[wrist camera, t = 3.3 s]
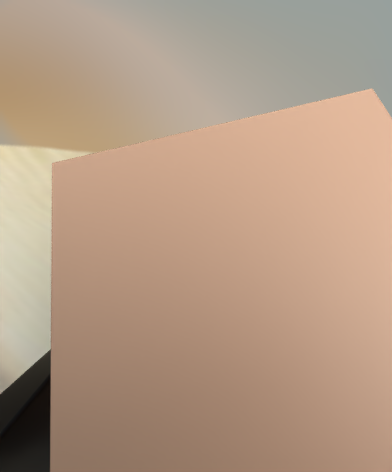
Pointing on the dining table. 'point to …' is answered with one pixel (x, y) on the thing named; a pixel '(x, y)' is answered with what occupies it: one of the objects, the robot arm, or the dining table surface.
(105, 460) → the terracotta block
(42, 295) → the dining table surface
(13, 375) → the dining table surface
